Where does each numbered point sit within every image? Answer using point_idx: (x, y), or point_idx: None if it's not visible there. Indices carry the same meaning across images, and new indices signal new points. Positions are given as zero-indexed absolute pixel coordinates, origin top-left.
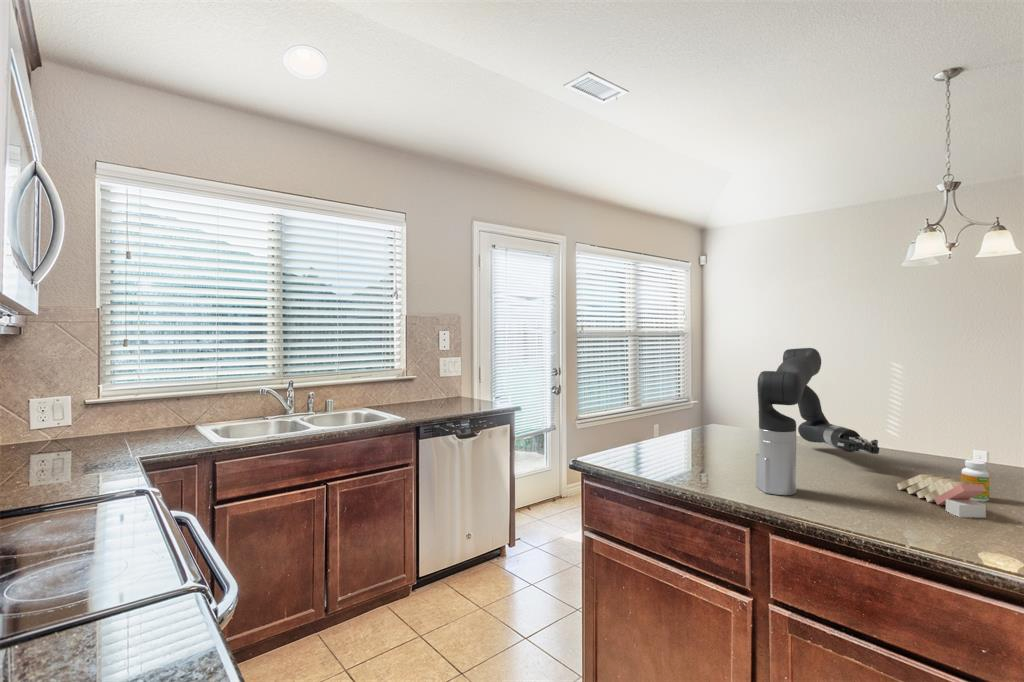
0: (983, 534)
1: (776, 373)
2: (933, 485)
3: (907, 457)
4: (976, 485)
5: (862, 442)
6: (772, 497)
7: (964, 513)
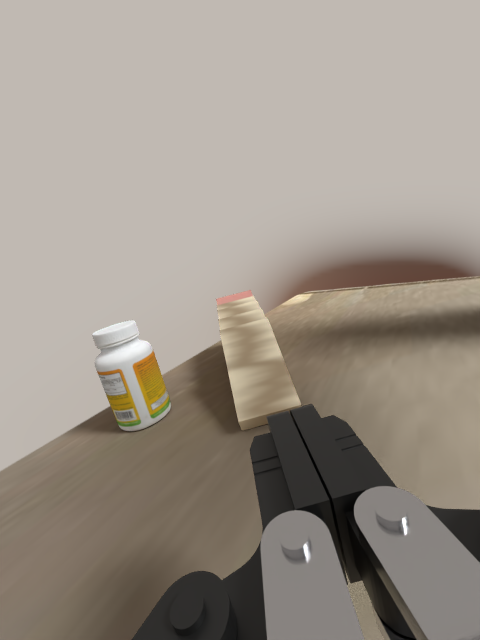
0: (273, 320)
1: None
2: None
3: None
4: (227, 297)
5: (422, 592)
6: None
7: None
